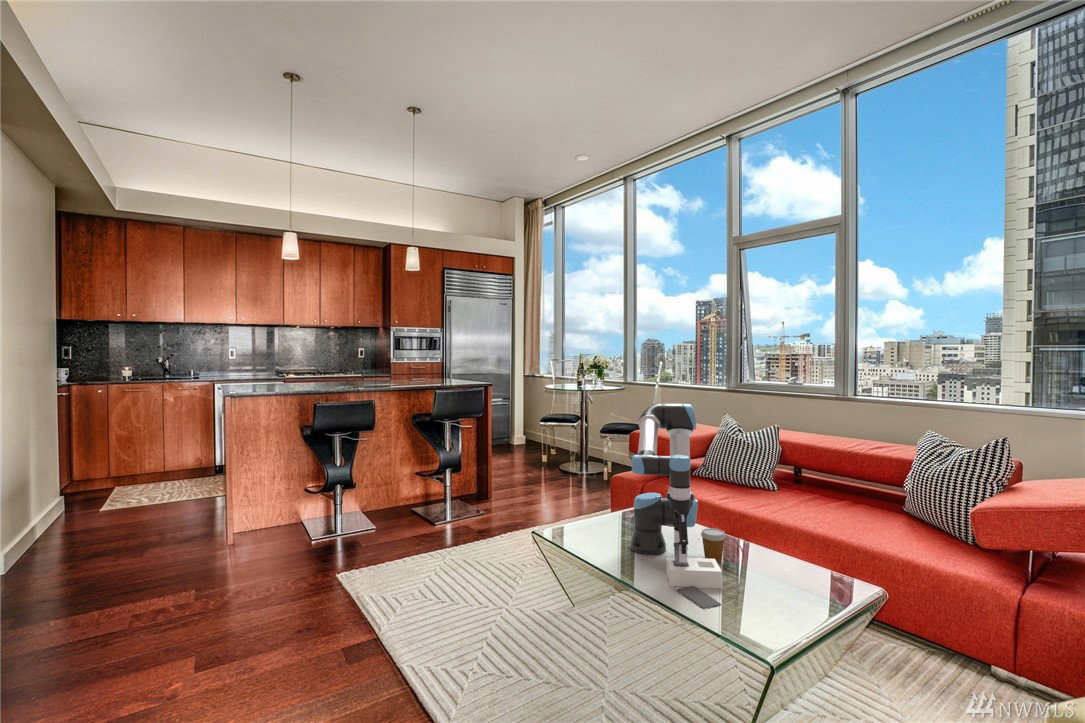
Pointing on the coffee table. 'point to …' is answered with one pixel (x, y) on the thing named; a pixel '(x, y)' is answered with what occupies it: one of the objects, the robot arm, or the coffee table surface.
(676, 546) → the plug
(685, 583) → the socket box
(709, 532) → the disposable coffee cup
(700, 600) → the smartphone
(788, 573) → the coffee table surface
